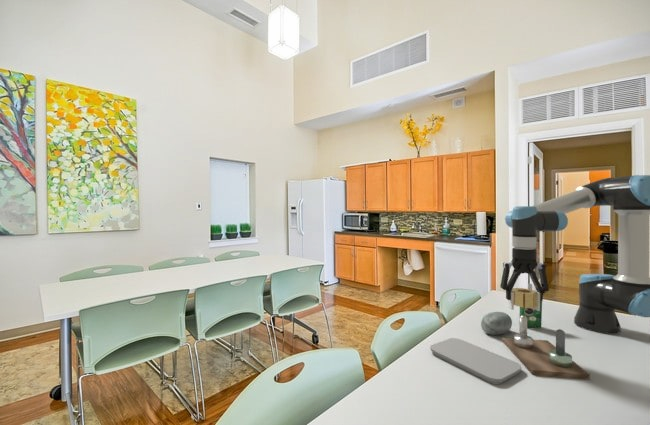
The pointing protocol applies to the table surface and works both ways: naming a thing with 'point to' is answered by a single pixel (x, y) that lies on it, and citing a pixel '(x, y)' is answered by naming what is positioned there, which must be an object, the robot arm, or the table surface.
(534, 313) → the coffee box
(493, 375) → the tablet
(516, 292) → the tan boxy piece
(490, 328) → the grey marbled egg
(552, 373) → the walnut plate
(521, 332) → the stand rod
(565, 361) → the metal peg stand
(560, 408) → the table surface
